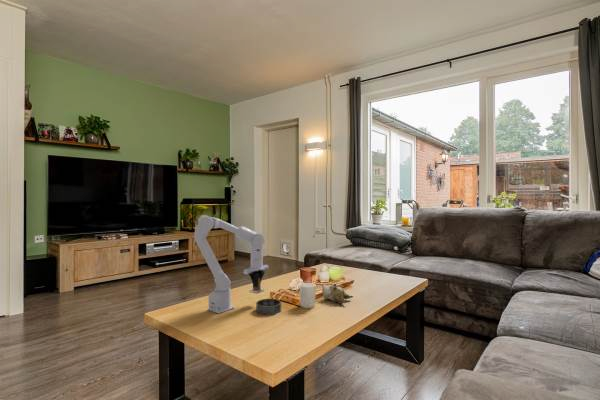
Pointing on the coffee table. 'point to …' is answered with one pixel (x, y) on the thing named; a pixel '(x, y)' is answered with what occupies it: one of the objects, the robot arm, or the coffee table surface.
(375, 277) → the coffee table surface
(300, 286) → the white cup
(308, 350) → the coffee table surface
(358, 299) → the coffee table surface
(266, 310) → the candle tin
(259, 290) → the wood wick
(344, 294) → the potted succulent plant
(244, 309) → the coffee table surface
